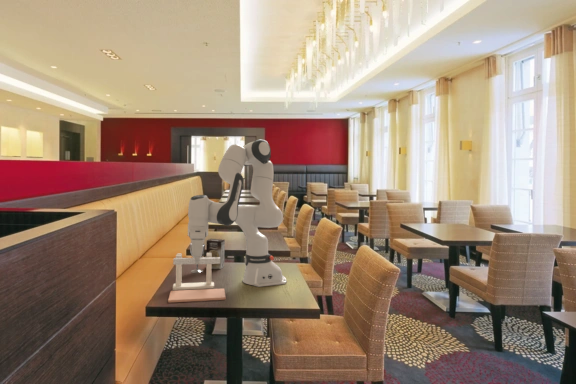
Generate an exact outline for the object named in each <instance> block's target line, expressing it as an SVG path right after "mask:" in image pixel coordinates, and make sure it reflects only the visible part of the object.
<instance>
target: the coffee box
mask: <svg viewBox="0 0 576 384" xmlns="http://www.w3.org/2000/svg"><path fill="white" fill-rule="evenodd" d="M225 245H226V240H225V239H223V238H221V239H220V238H209V239H207V240H206V246H205V248H206V249H205V250H206V251H205V254H206V255H205V257H207V253H212V257H220V264H212V269H214V270H215V269H216V270H221V269H223V268H224V267H225V249H226V246H225Z"/></svg>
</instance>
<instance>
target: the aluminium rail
mask: <svg viewBox="0 0 576 384" xmlns="http://www.w3.org/2000/svg"><path fill="white" fill-rule="evenodd" d="M172 261H173V263H172V264H173V265H174V266H176V265H180V264H182V265H196V264H195V258H193V257H182V258H176V257H173V260H172ZM206 264H220V257H206V256H205V257H203V256H202V257H201V258H200V259H199V264H198V265H206Z"/></svg>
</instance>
